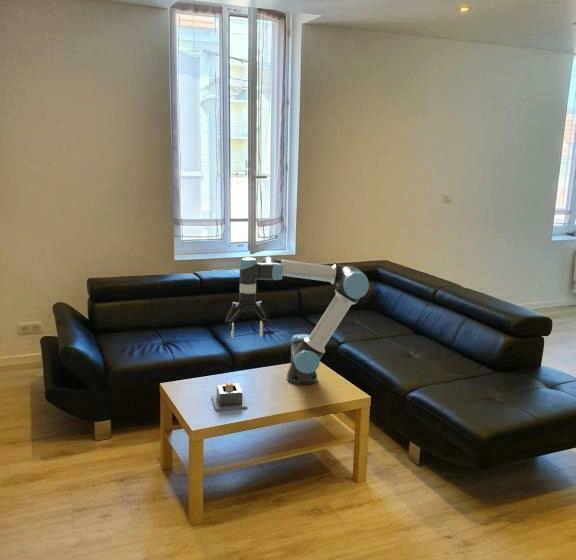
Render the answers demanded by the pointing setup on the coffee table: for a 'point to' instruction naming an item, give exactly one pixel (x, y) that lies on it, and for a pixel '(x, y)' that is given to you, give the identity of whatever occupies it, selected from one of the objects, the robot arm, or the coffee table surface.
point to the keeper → (217, 408)
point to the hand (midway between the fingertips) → (246, 336)
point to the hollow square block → (229, 395)
